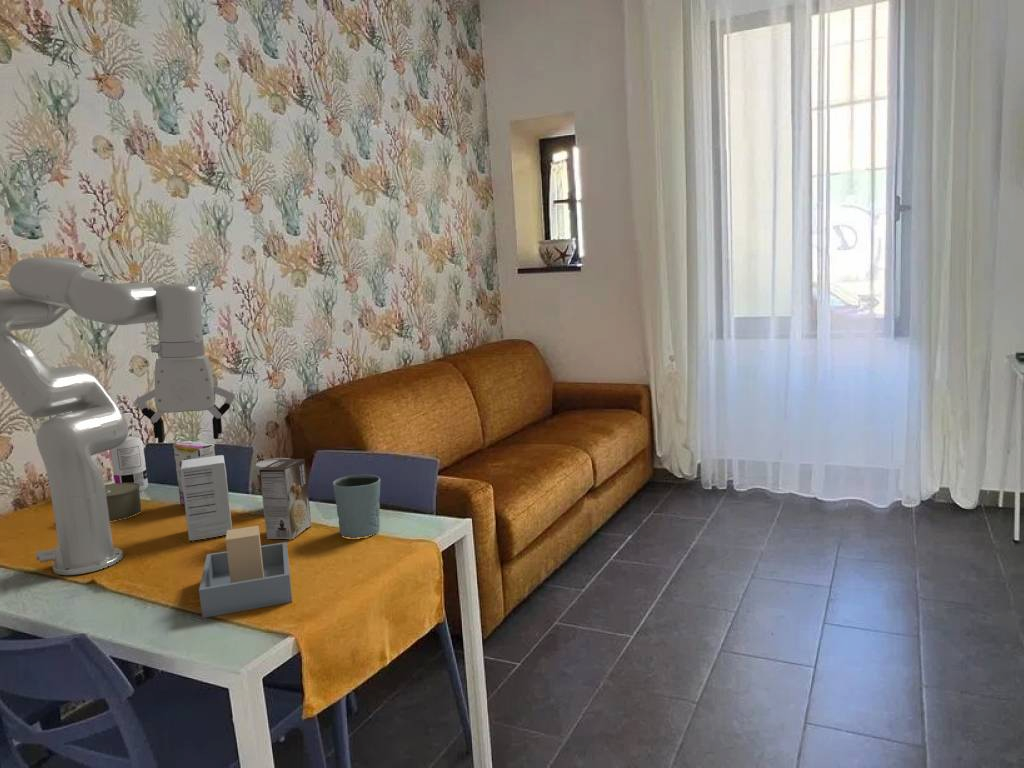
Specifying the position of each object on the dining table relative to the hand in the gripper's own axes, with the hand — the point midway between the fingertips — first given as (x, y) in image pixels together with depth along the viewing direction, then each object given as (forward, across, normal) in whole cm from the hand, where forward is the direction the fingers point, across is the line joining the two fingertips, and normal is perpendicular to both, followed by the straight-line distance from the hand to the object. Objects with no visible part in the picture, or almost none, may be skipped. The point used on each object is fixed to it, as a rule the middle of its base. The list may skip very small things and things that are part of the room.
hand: (189, 439), depth 140 cm
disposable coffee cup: (+27, +15, +36) cm, 47 cm away
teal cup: (+26, +32, +9) cm, 42 cm away
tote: (+26, +10, -13) cm, 31 cm away
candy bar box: (+28, -4, +48) cm, 56 cm away
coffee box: (+27, +17, +16) cm, 35 cm away
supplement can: (+30, -25, +74) cm, 84 cm away
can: (+29, -24, +50) cm, 63 cm away
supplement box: (+28, 0, +24) cm, 37 cm away
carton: (+25, +10, -13) cm, 30 cm away
